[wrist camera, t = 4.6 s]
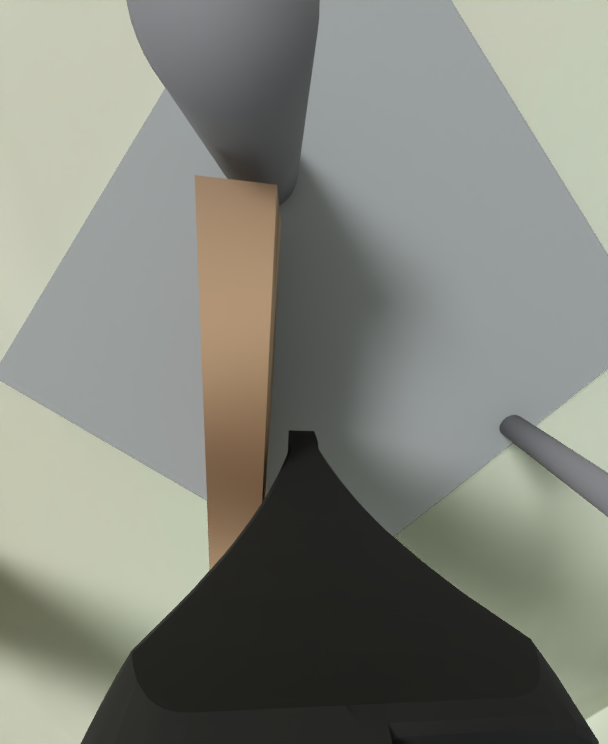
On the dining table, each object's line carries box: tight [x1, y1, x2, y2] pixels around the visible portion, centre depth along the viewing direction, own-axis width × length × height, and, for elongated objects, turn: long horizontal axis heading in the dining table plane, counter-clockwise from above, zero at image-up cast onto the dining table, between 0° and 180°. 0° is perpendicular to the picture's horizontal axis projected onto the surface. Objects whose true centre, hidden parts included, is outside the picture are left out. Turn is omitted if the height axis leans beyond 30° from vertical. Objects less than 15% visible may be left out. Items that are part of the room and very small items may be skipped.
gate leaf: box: [195, 175, 281, 570], centre depth 8 cm, size 11×1×4 cm, turn 175°
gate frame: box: [0, 0, 608, 537], centre depth 8 cm, size 17×17×6 cm
